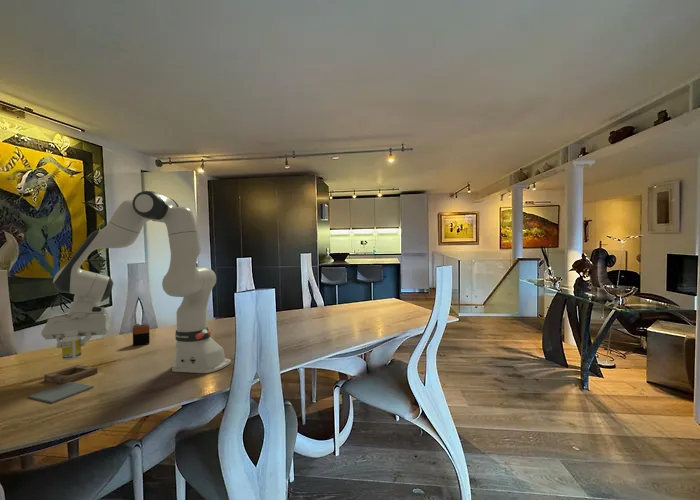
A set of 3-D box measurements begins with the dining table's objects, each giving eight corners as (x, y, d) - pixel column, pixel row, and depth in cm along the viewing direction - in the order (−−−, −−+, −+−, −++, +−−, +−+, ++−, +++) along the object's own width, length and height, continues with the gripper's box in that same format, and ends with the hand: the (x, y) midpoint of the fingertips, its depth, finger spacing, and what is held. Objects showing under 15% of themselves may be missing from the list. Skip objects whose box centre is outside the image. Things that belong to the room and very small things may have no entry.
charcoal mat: (93, 387, 114) (93, 386, 114) (52, 403, 103) (52, 401, 103) (70, 383, 119) (70, 381, 119) (27, 397, 107) (27, 396, 107)
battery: (133, 344, 166) (133, 323, 166) (149, 342, 169) (149, 322, 169) (132, 346, 162) (132, 325, 162) (149, 344, 166) (149, 323, 165)
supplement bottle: (79, 354, 128) (78, 328, 128) (83, 357, 125) (82, 330, 125) (60, 358, 124) (60, 331, 124) (64, 361, 120) (63, 333, 120)
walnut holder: (97, 373, 128) (97, 367, 128) (64, 384, 117) (64, 378, 117) (78, 369, 131) (78, 364, 131) (44, 380, 121) (44, 375, 121)
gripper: (46, 311, 127) (31, 344, 118) (109, 307, 134) (100, 338, 125) (52, 321, 132) (39, 353, 123) (114, 316, 138) (105, 347, 129)
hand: (70, 346), depth 124 cm, fingers closed on supplement bottle, 5 cm apart
